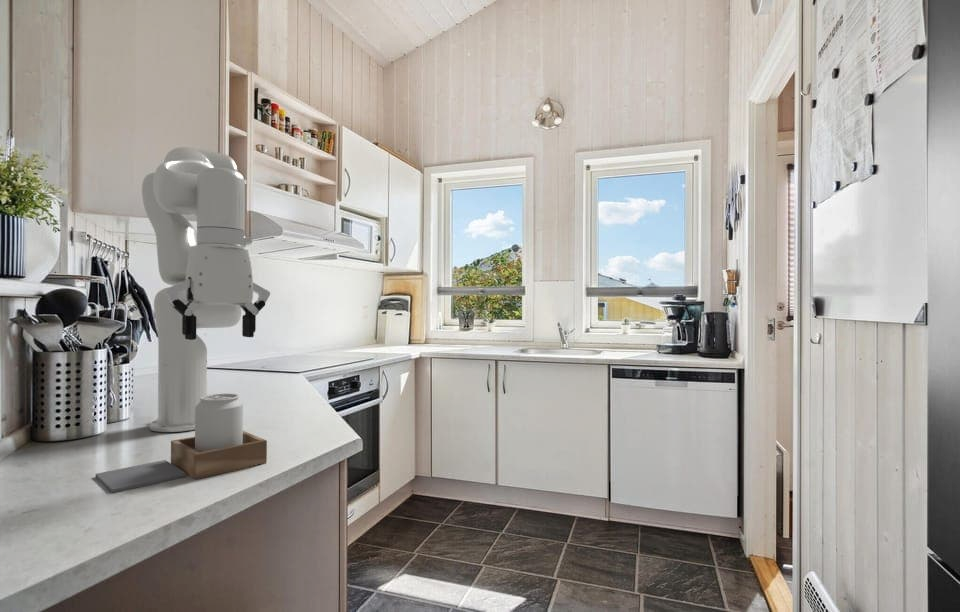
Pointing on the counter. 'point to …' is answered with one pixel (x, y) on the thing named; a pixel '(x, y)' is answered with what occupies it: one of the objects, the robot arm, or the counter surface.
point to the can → (218, 422)
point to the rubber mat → (139, 475)
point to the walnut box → (217, 456)
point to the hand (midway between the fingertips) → (220, 338)
